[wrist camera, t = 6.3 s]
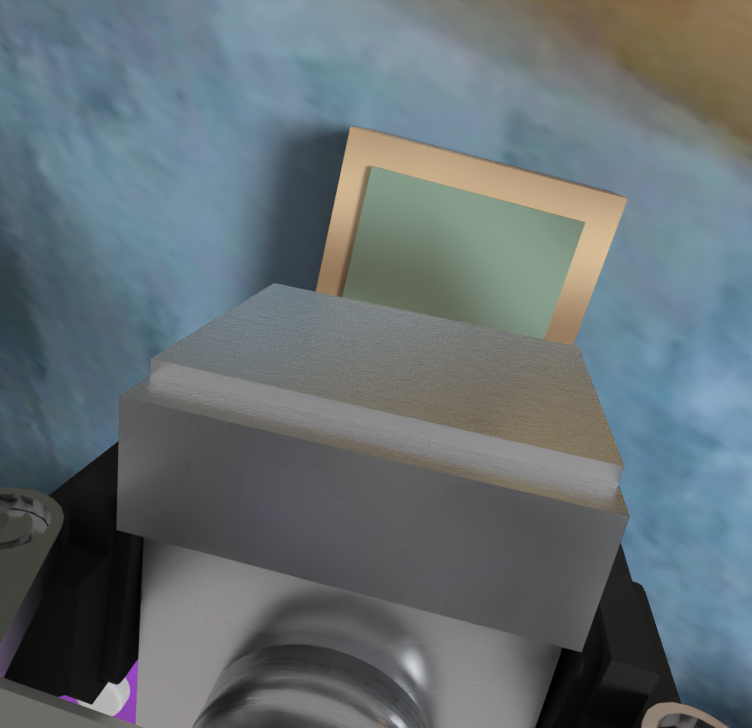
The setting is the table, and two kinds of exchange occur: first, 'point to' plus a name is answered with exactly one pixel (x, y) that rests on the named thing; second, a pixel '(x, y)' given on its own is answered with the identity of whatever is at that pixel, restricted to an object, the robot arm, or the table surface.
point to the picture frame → (465, 237)
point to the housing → (362, 518)
